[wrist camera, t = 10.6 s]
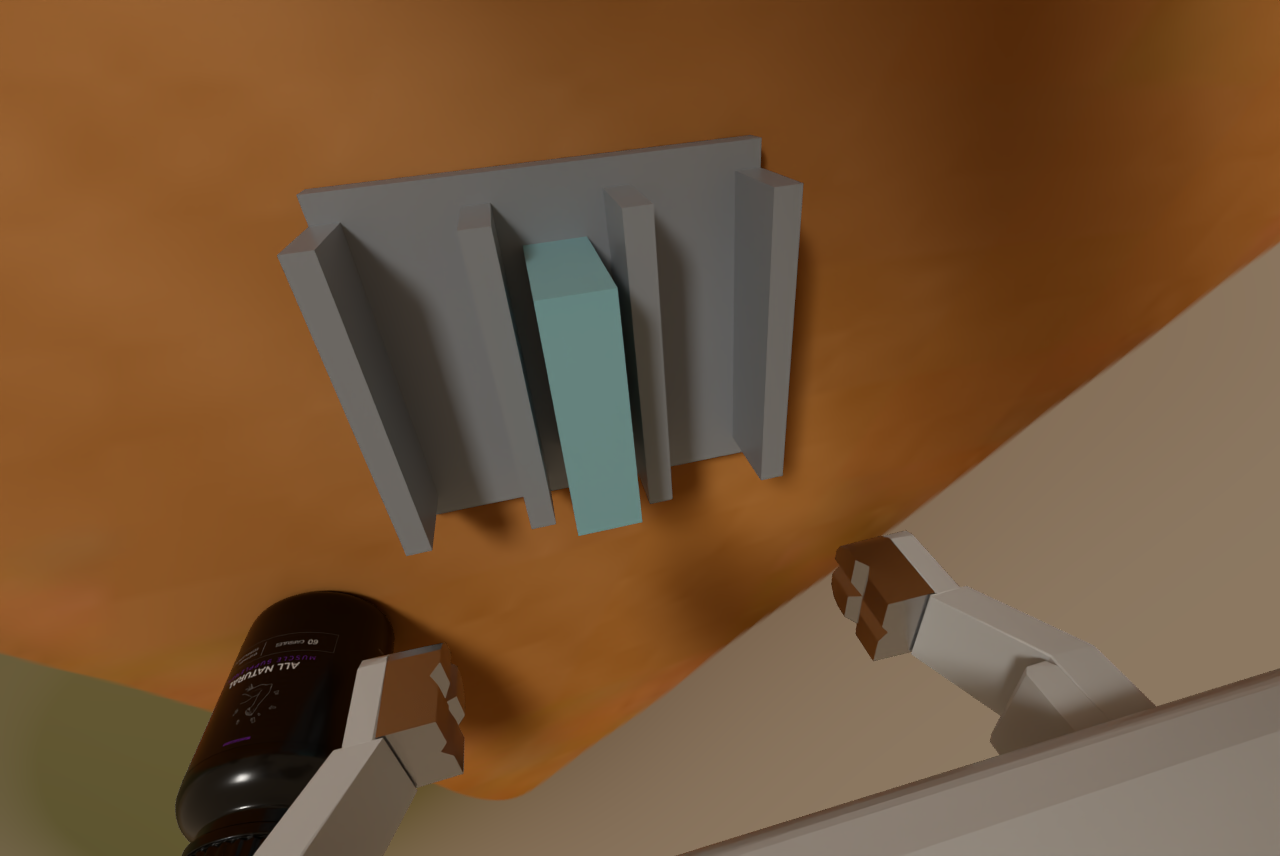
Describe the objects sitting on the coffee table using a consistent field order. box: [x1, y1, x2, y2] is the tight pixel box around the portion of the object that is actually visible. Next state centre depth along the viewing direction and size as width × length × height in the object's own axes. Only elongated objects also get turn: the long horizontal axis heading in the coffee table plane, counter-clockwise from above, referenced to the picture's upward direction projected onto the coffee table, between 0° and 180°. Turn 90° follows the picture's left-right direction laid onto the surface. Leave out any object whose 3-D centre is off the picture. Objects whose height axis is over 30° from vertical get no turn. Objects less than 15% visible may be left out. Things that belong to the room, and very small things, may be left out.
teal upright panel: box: [523, 236, 642, 536], centre depth 21 cm, size 9×2×6 cm, turn 5°
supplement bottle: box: [175, 591, 394, 856], centre depth 25 cm, size 7×7×12 cm
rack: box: [277, 135, 803, 556], centre depth 22 cm, size 14×16×4 cm
